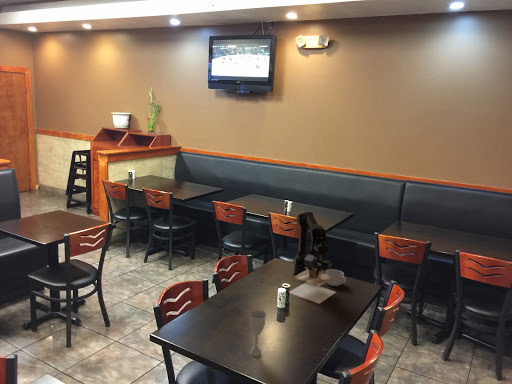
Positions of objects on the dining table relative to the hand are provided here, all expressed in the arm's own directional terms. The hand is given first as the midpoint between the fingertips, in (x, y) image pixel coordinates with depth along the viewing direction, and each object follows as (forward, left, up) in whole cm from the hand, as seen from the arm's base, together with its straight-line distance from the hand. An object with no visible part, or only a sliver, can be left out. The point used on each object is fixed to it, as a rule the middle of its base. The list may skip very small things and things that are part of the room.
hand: (313, 275), depth 234 cm
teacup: (+5, +19, -11) cm, 23 cm away
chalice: (+12, -69, -11) cm, 71 cm away
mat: (0, 0, -11) cm, 11 cm away
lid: (0, 0, -2) cm, 2 cm away
